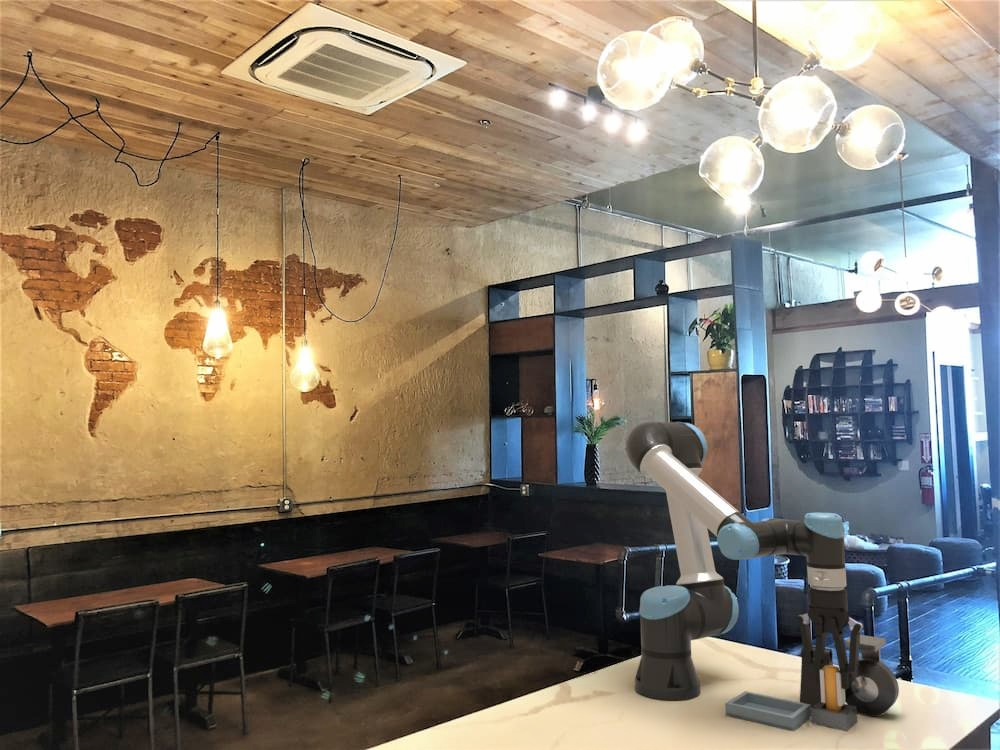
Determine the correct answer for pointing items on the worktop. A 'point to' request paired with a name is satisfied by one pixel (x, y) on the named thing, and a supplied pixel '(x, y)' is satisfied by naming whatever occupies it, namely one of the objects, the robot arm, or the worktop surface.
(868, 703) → the caster wheel
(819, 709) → the pin socket
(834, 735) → the worktop surface
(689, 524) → the robot arm
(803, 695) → the phone stand
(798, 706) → the tray
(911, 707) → the worktop surface
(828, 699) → the pin
